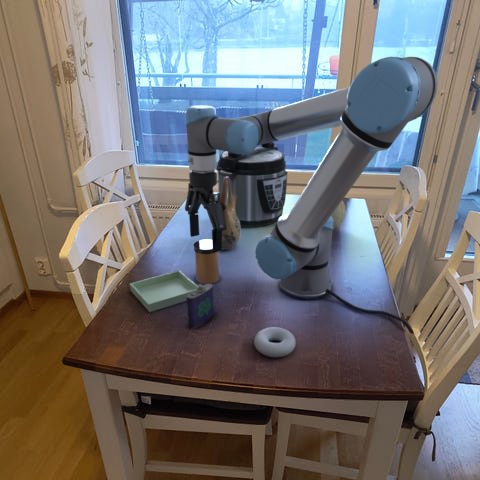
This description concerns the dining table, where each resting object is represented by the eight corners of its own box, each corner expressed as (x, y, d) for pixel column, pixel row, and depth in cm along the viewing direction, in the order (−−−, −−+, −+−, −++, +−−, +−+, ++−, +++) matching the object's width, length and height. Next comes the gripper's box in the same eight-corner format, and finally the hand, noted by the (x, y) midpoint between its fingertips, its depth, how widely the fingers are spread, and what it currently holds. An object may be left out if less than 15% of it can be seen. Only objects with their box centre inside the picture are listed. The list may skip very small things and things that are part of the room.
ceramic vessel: (234, 258, 145) (233, 184, 131) (209, 255, 147) (206, 182, 133) (245, 240, 158) (246, 171, 144) (222, 237, 160) (220, 169, 146)
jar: (224, 280, 131) (223, 245, 125) (202, 286, 128) (201, 251, 122) (212, 271, 137) (210, 237, 130) (191, 276, 133) (188, 242, 127)
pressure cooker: (224, 233, 164) (222, 146, 146) (209, 210, 187) (206, 132, 169) (296, 226, 170) (303, 142, 153) (274, 204, 193) (277, 129, 176)
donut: (298, 360, 98) (292, 334, 107) (299, 348, 97) (293, 323, 105) (255, 361, 98) (252, 335, 106) (255, 349, 96) (252, 324, 104)
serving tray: (201, 296, 123) (201, 288, 122) (149, 312, 116) (148, 304, 114) (179, 277, 133) (179, 270, 132) (130, 290, 126) (129, 283, 124)
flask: (209, 311, 116) (207, 276, 110) (217, 314, 115) (216, 279, 109) (186, 326, 110) (183, 290, 104) (194, 330, 108) (192, 294, 103)
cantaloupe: (326, 240, 158) (330, 200, 150) (297, 229, 168) (300, 191, 160) (351, 231, 166) (357, 193, 158) (322, 220, 176) (326, 184, 167)
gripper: (170, 162, 121) (175, 232, 133) (214, 183, 104) (215, 261, 115) (193, 158, 125) (196, 227, 136) (239, 178, 107) (238, 255, 119)
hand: (205, 243), depth 126 cm, fingers open, 13 cm apart
